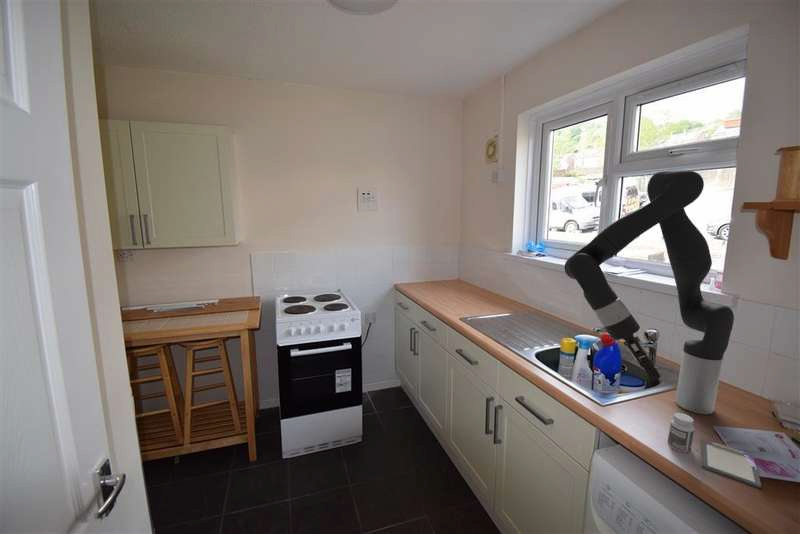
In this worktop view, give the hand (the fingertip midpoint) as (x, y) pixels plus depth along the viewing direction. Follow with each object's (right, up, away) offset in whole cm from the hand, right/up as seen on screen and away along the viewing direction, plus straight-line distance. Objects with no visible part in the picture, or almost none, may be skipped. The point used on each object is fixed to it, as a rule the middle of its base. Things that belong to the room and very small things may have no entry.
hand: (653, 373), depth 93 cm
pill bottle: (+6, -19, -1) cm, 20 cm away
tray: (+13, -20, -7) cm, 25 cm away
